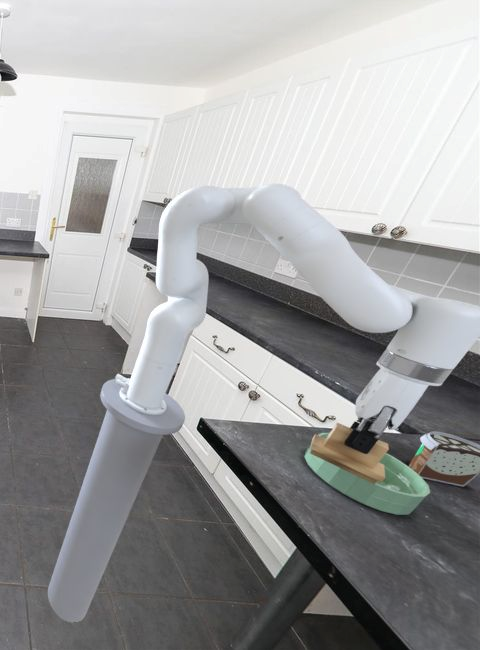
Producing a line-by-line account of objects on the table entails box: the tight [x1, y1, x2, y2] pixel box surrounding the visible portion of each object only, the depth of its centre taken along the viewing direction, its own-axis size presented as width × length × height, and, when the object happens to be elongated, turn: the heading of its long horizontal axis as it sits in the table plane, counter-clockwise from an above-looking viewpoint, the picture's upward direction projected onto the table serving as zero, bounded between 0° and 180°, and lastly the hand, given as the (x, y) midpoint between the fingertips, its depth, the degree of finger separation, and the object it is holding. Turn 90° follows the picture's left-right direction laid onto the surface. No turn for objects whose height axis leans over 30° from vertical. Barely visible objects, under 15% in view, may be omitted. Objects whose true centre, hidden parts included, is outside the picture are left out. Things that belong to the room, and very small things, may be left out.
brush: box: [310, 422, 389, 484], centre depth 66 cm, size 10×5×8 cm, turn 41°
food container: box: [407, 430, 480, 487], centre depth 78 cm, size 12×6×10 cm, turn 78°
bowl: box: [304, 432, 431, 516], centre depth 74 cm, size 17×17×6 cm
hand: (355, 444), depth 65 cm, fingers closed on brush, 2 cm apart
